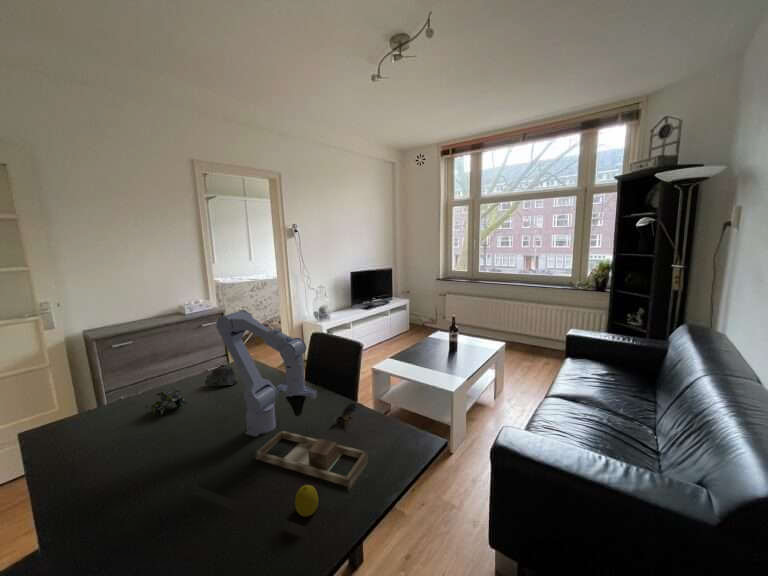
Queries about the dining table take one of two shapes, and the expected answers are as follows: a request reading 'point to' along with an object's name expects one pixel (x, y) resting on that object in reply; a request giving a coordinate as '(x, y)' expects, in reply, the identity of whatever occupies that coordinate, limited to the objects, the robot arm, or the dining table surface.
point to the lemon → (306, 500)
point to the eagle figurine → (345, 415)
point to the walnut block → (323, 454)
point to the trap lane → (300, 459)
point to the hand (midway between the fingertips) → (298, 414)
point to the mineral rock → (222, 376)
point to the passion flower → (169, 398)
